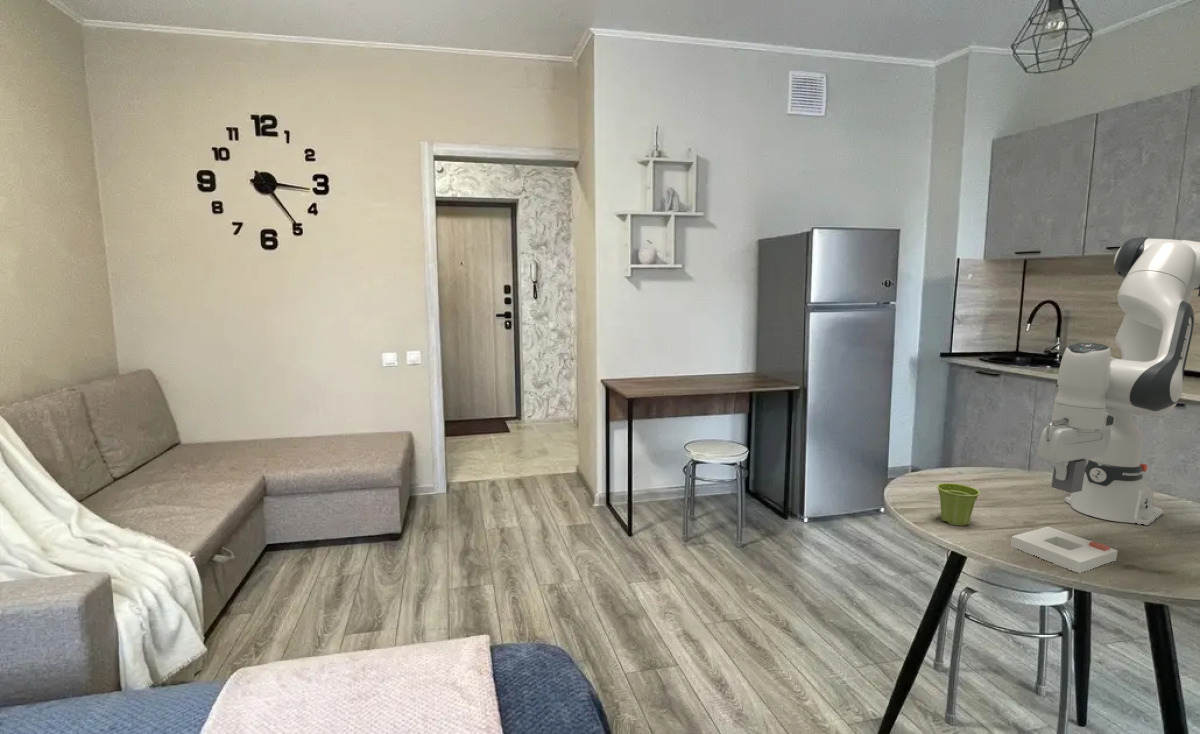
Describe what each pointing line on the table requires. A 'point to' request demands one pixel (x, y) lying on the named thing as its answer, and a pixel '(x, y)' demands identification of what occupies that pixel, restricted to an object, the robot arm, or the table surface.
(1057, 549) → the socket plate
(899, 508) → the table surface
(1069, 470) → the plug
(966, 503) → the plant pot
